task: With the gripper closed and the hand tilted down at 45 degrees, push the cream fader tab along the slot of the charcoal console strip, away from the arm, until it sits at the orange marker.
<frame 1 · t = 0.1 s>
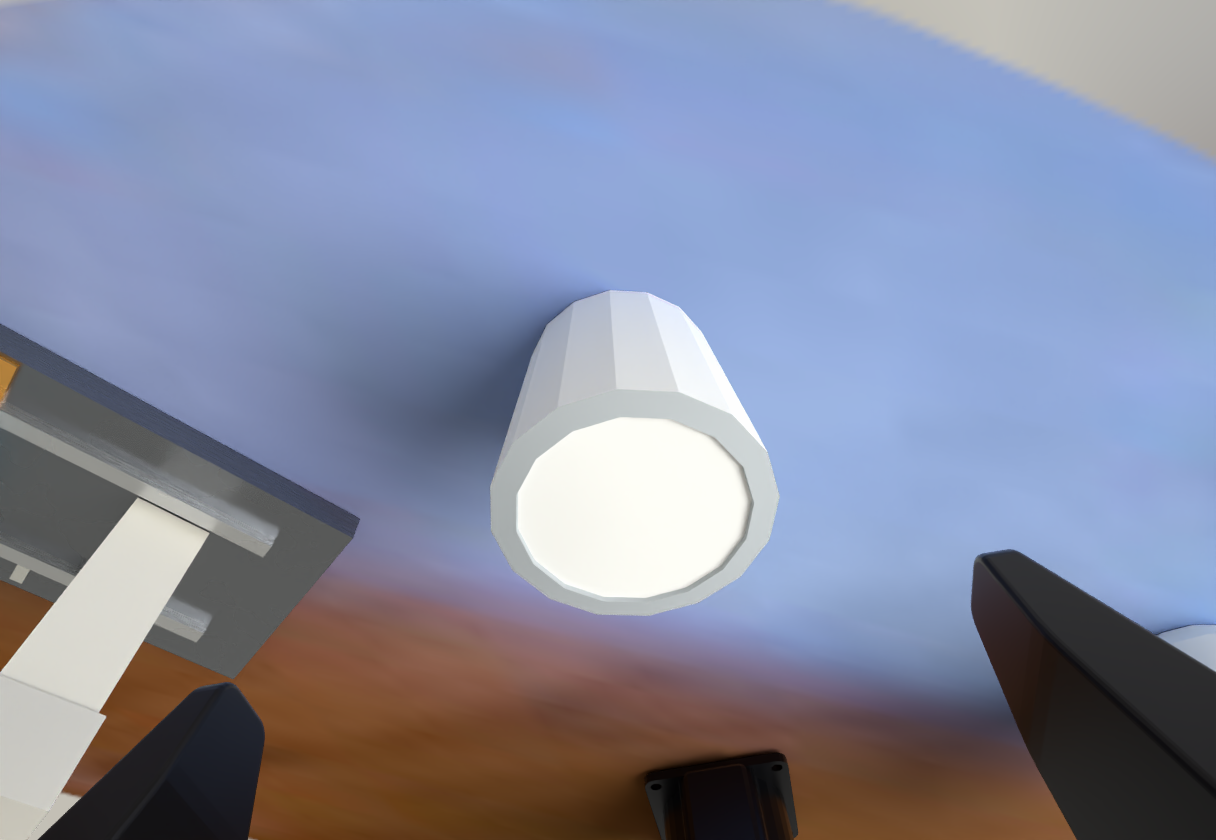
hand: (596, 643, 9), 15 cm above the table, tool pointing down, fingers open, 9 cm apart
fader tab: (71, 664, 22), point 6 cm above the table, slide at 0.0 cm
console: (107, 500, 26), on the table
white cylinder: (620, 370, 24), on the table
coffee cup: (1172, 669, 33), on the table
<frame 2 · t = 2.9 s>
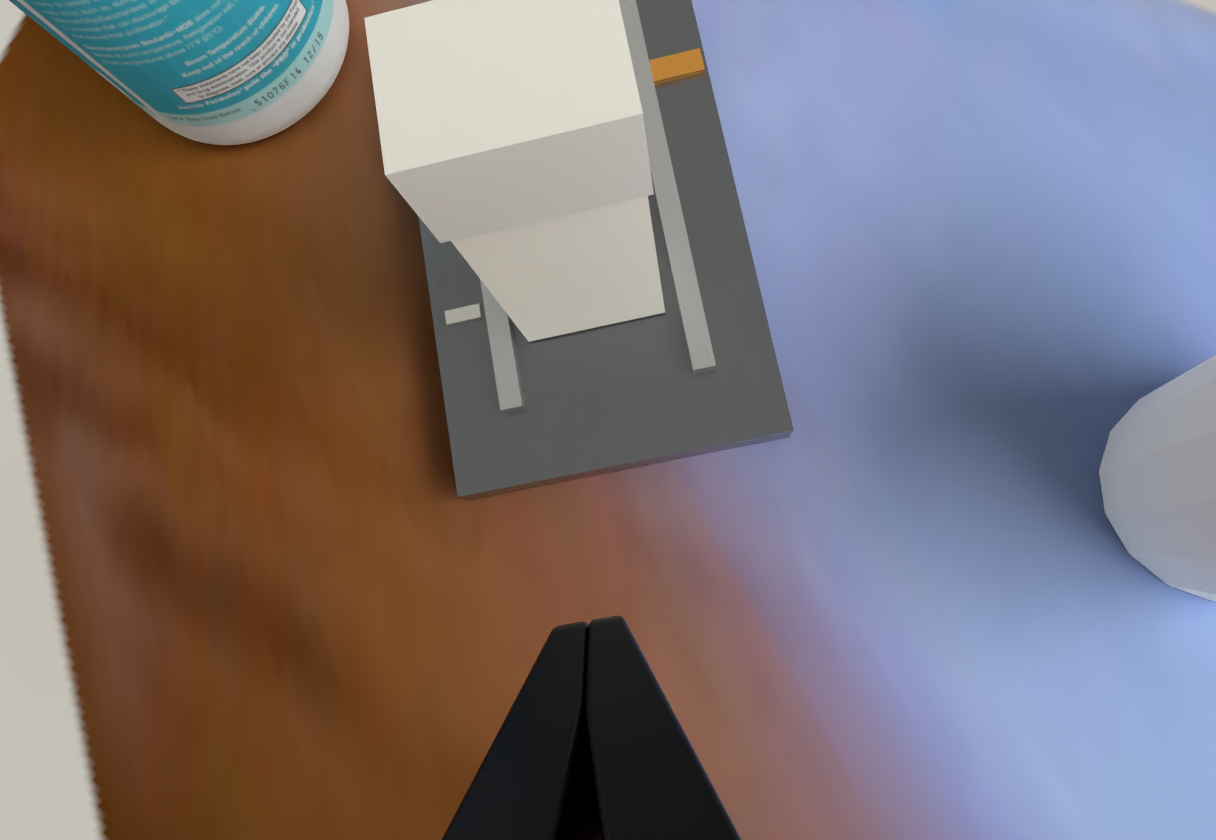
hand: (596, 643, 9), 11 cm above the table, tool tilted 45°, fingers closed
fader tab: (556, 206, 16), point 6 cm above the table, slide at 0.0 cm
console: (582, 237, 22), on the table
pill bottle: (254, 57, 25), on the table
white cylinder: (1214, 489, 19), on the table
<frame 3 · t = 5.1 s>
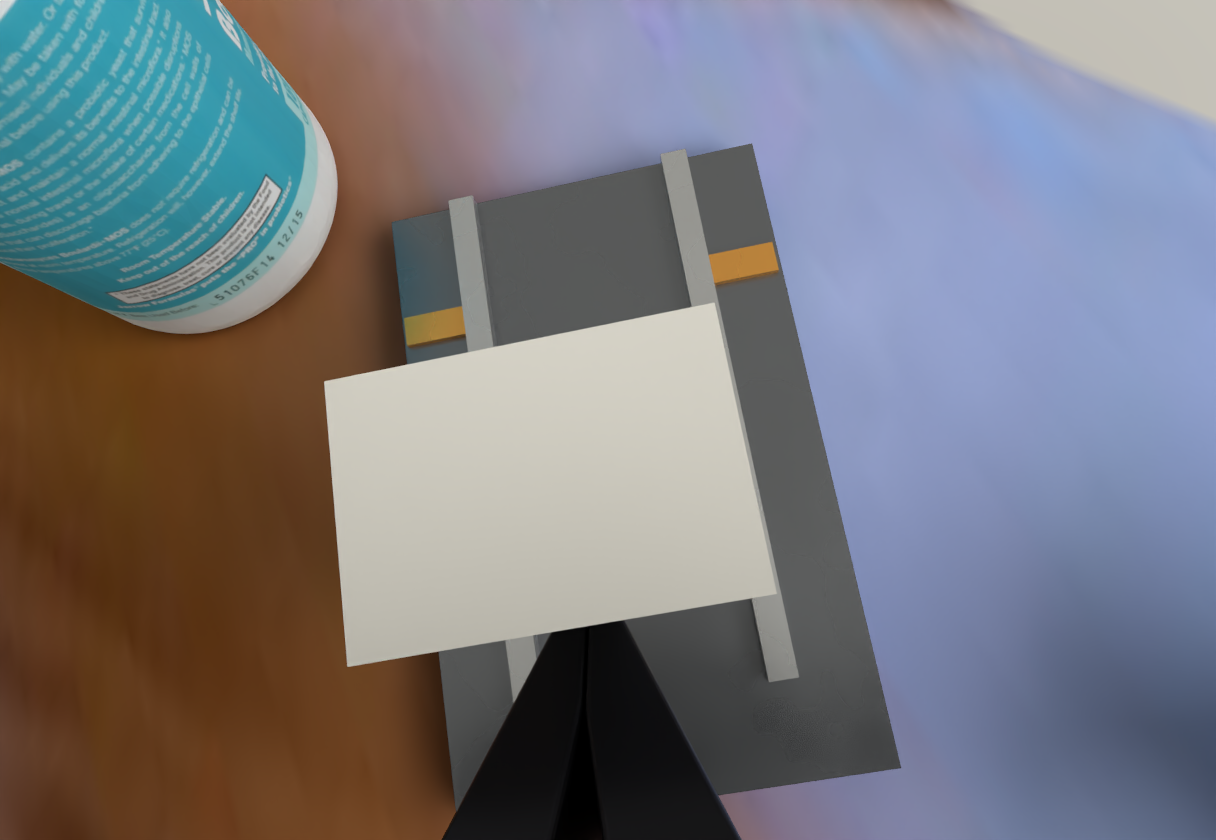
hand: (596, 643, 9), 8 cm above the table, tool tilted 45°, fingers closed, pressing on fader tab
fader tab: (600, 523, 12), point 6 cm above the table, slide at 0.2 cm, touching gripper
console: (621, 469, 18), on the table
pill bottle: (223, 217, 21), on the table
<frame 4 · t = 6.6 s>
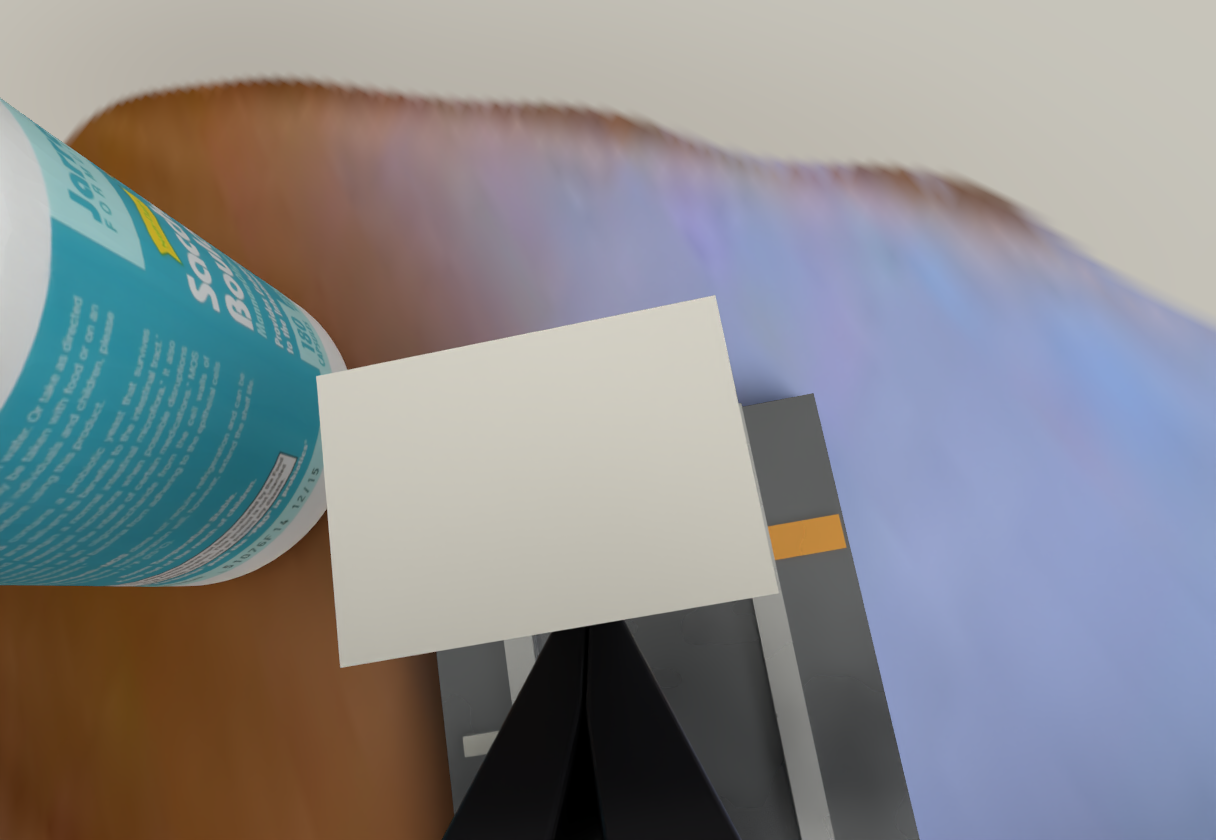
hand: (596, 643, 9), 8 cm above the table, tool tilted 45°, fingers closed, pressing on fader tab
fader tab: (599, 519, 12), point 6 cm above the table, slide at 6.6 cm, touching gripper
console: (670, 756, 16), on the table
pill bottle: (230, 436, 19), on the table
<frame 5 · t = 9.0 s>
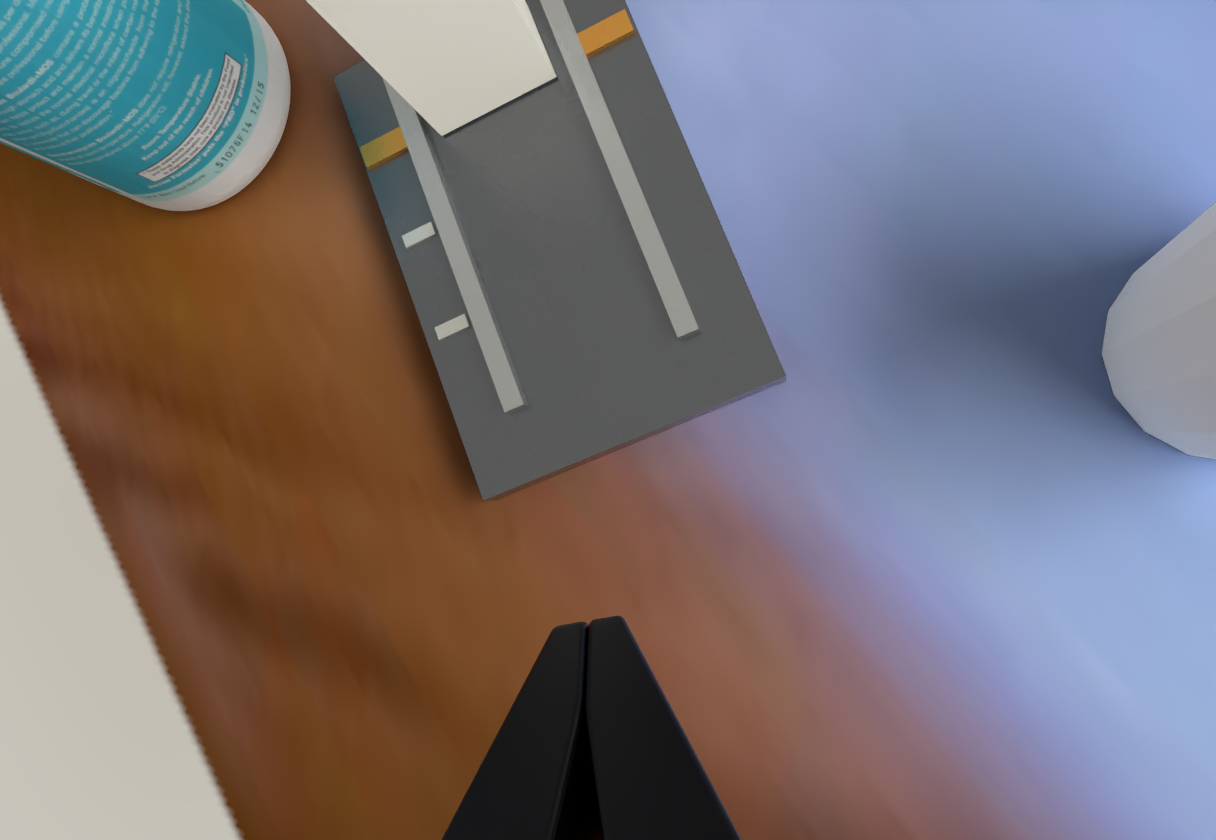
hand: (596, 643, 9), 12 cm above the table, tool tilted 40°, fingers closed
console: (550, 224, 23), on the table
pill bottle: (209, 114, 26), on the table
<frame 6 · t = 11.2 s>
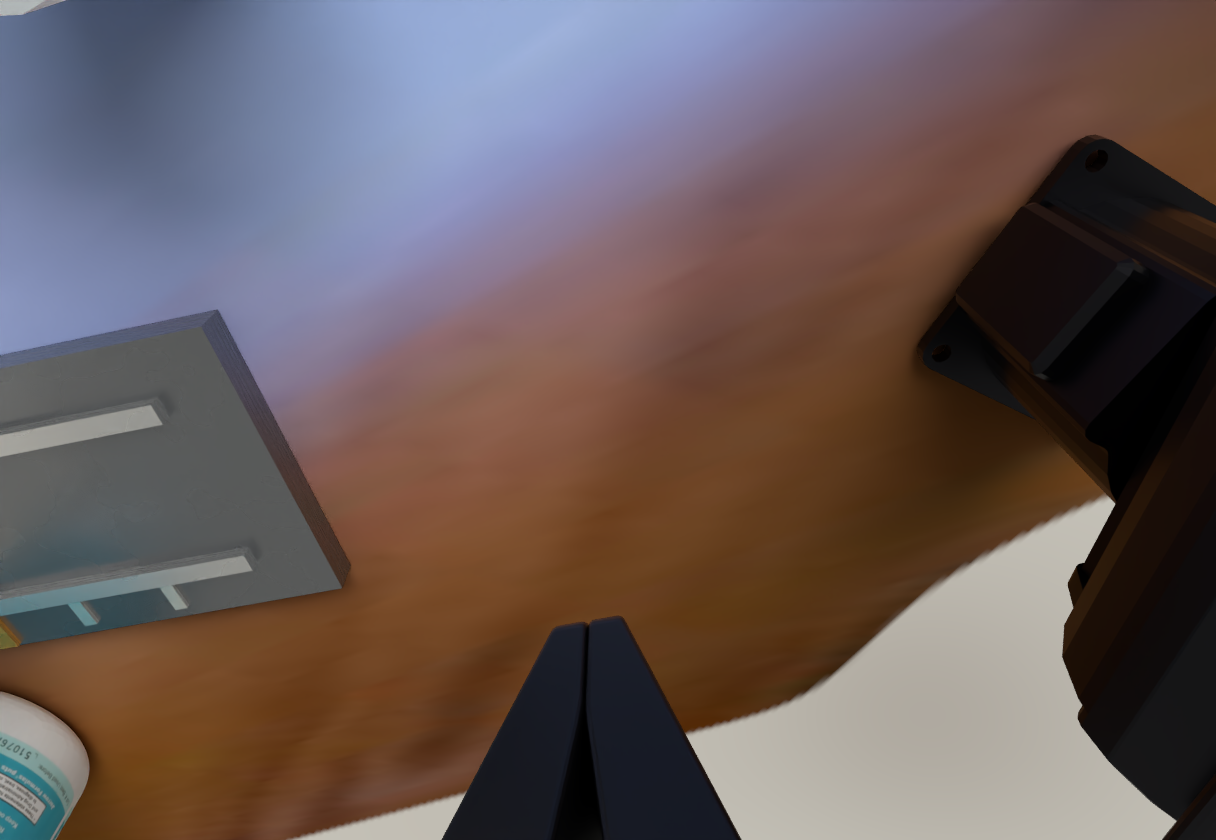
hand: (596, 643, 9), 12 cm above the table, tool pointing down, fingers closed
console: (65, 494, 22), on the table
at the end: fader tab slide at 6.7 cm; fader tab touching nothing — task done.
